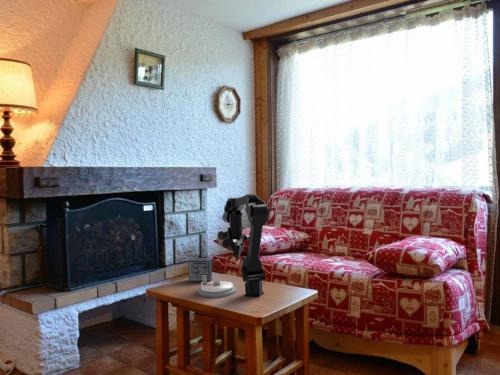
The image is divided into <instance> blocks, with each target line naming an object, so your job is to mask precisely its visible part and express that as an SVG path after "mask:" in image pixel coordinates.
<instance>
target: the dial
mask: <svg viewBox="0 0 500 375" xmlns="http://www.w3.org/2000/svg"><path fill="white" fill-rule="evenodd" d="M202 280H203V282H202V283H203V284H202V285H201V284H200V288H201V290H202V291H204V292H210V293H218V292H225V291H229V290H231V289H233V286H234V284H233V282H230V281H225V280H223V281H222V280H214V281H210V282H207V277H206V275H202Z"/></svg>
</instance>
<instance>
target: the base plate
mask: <svg viewBox="0 0 500 375" xmlns="http://www.w3.org/2000/svg"><path fill="white" fill-rule="evenodd" d="M202 284H203V282H200V286H201V285H202ZM235 293H236V286H235V285H233V289H231V290H229V291H225V292H218V293H210V292H204V291H202V290H201V287H199V288H198V295H199V296H201V297H204V298H211V299H213V298H224V297H229V296H232V295H234V294H235Z"/></svg>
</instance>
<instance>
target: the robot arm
mask: <svg viewBox="0 0 500 375" xmlns="http://www.w3.org/2000/svg"><path fill="white" fill-rule="evenodd" d="M223 210H224V212H223V214H222V215H221V216H222V217H221V218H222V219H221V220H222V221H223V222H225V224H229V227H228V228H227V230H226V231H223V230H221V231H218V232H217V239H219V241H221V246H222V247H230V248H231V249H232V252H233V254H234V257H235V260H238V259H239V258H240V256H241V254H242V251H243V249H244V247H245V244H246V242H248V247H247V255H245V256H243V257H242V260H241V261H242V262H241V267H240V272H241V278H242V279H241V280H242V281H243V282H245V283H244V287H245V288H244V292H245V294H244V296H245V297H246V296H247V297H254V298H258V297H260V296H262V295H264V294H265V291H264V290H263V281H264V280H265V281H266V276H267V275H266V273H265V271H264V267H263V263H262V261H261V259H260V250H261V242H262V236H263V235H262V233H263V226H264V225H265V224H266V223H267V222H268V218H269V215H270V208H269V206H268V205H267V203H266V201H264V200H263V199H261V198H260V197H259V196H258V195H257V194H256V193H248V194H247V193H246V194H245V195H243V196H240V197H228V198H227V200H226V202H225V204H224V208H223ZM243 210H244V211H245V213H246V215H247V219H248V222H249V223H250V228H249V230H250V231H249V233H243V230H244V229H245V227H244V226H243V214H244V213H243V212H242V211H243ZM243 241H246V242H243Z"/></svg>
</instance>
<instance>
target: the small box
mask: <svg viewBox="0 0 500 375" xmlns="http://www.w3.org/2000/svg"><path fill="white" fill-rule="evenodd" d="M187 265H188V266H187V267H188V268H187V270H188V283H203V280H202V275H206V277H207V283H208V282H212V280H213V267H212V257H207V258H206V257H204V258H199V257H197V258H190V259H188V260H187Z"/></svg>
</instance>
